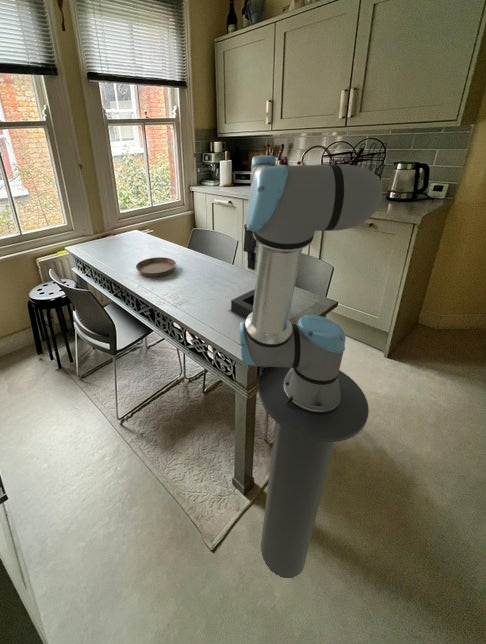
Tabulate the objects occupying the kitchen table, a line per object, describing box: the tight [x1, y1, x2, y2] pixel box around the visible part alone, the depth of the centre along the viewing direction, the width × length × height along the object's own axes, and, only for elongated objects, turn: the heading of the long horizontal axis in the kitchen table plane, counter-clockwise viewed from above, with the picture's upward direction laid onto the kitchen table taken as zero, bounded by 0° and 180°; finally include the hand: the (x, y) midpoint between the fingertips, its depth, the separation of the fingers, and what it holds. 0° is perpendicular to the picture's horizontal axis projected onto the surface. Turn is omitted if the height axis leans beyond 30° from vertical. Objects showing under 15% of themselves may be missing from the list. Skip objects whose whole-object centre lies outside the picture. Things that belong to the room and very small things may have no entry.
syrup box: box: [245, 241, 260, 275], centre depth 115 cm, size 6×6×14 cm
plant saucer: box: [135, 256, 177, 277], centre depth 163 cm, size 21×21×3 cm
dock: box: [230, 289, 255, 320], centre depth 124 cm, size 13×13×5 cm
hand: (256, 266), depth 117 cm, fingers closed on syrup box, 6 cm apart
